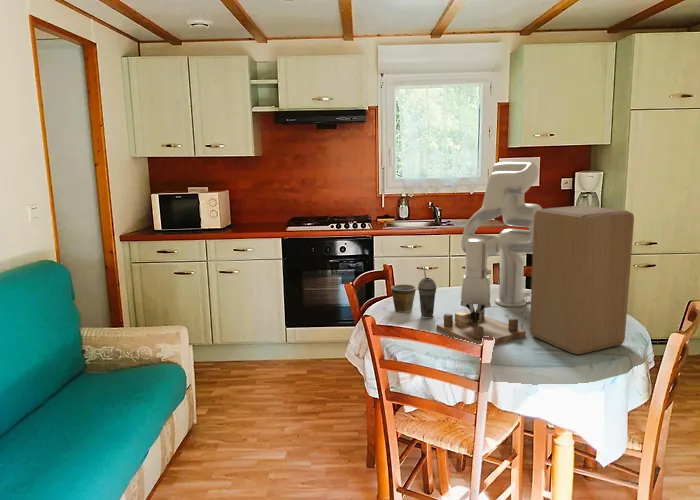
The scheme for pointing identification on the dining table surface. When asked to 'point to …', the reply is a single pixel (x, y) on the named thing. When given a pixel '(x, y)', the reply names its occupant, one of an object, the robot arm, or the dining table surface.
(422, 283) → the beverage cup
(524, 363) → the dining table surface
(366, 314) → the dining table surface
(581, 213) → the wooden block
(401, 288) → the ceramic cup
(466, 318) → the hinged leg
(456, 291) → the dining table surface
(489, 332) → the board
